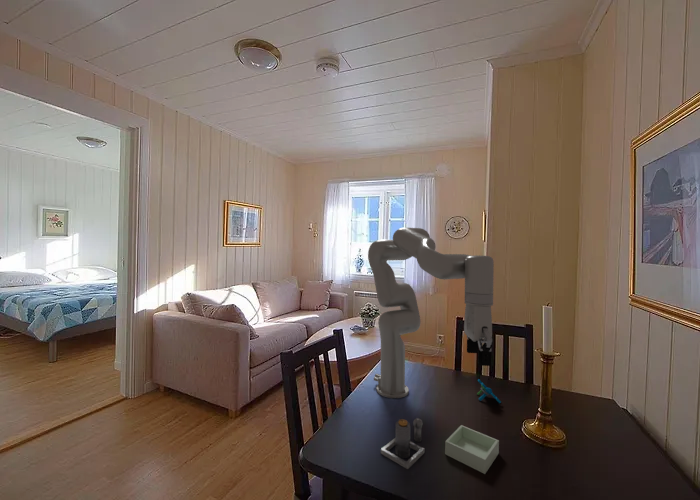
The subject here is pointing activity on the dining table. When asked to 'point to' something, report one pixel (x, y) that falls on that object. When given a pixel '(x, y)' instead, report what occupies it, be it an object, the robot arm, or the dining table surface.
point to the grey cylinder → (402, 439)
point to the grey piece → (419, 449)
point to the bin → (472, 448)
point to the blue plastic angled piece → (486, 392)
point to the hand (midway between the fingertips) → (478, 358)
